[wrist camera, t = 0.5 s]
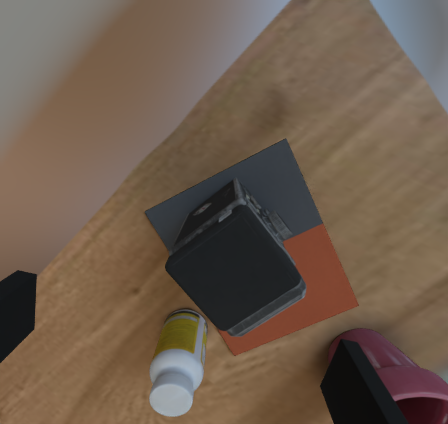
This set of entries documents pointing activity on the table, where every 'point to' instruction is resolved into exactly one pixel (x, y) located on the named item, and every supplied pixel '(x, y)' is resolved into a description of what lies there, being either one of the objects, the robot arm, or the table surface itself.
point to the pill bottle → (178, 363)
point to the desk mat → (295, 244)
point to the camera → (235, 261)
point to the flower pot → (402, 378)
